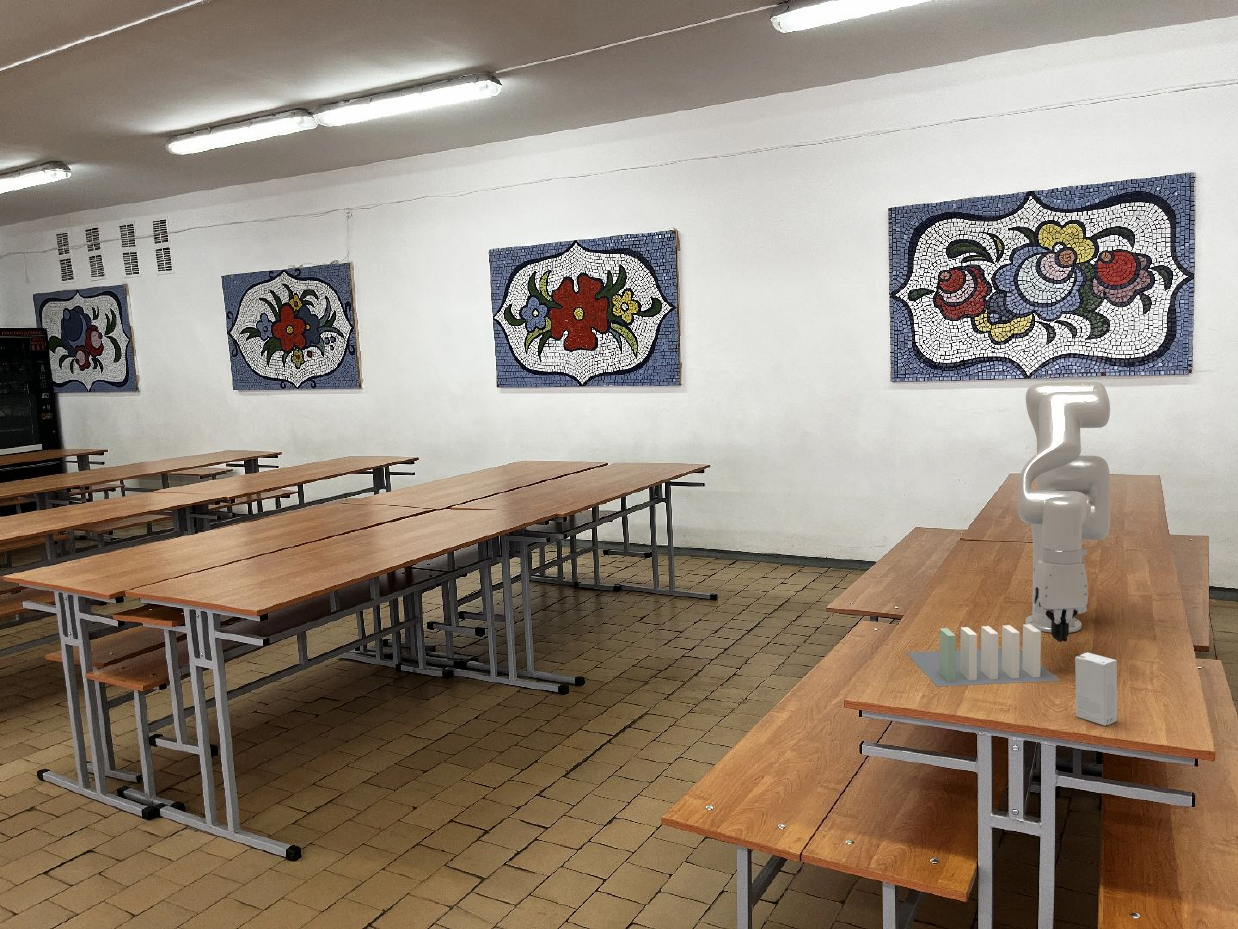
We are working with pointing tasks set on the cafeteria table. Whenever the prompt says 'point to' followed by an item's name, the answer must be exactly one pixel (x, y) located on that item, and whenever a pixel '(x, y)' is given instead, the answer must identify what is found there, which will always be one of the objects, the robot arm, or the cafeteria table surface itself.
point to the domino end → (947, 654)
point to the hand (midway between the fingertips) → (1059, 639)
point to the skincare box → (1096, 688)
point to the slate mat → (931, 668)
